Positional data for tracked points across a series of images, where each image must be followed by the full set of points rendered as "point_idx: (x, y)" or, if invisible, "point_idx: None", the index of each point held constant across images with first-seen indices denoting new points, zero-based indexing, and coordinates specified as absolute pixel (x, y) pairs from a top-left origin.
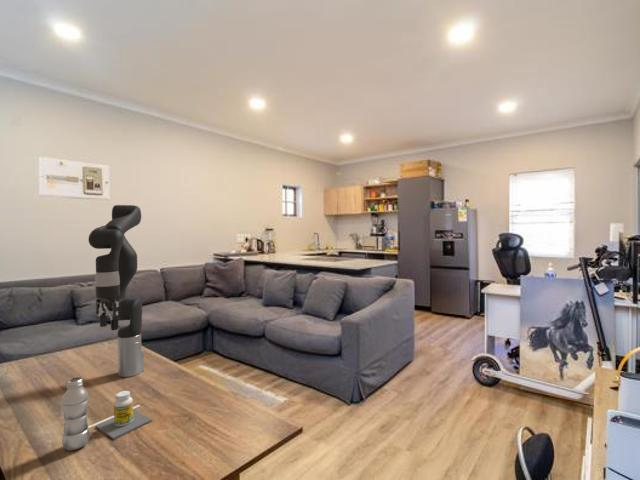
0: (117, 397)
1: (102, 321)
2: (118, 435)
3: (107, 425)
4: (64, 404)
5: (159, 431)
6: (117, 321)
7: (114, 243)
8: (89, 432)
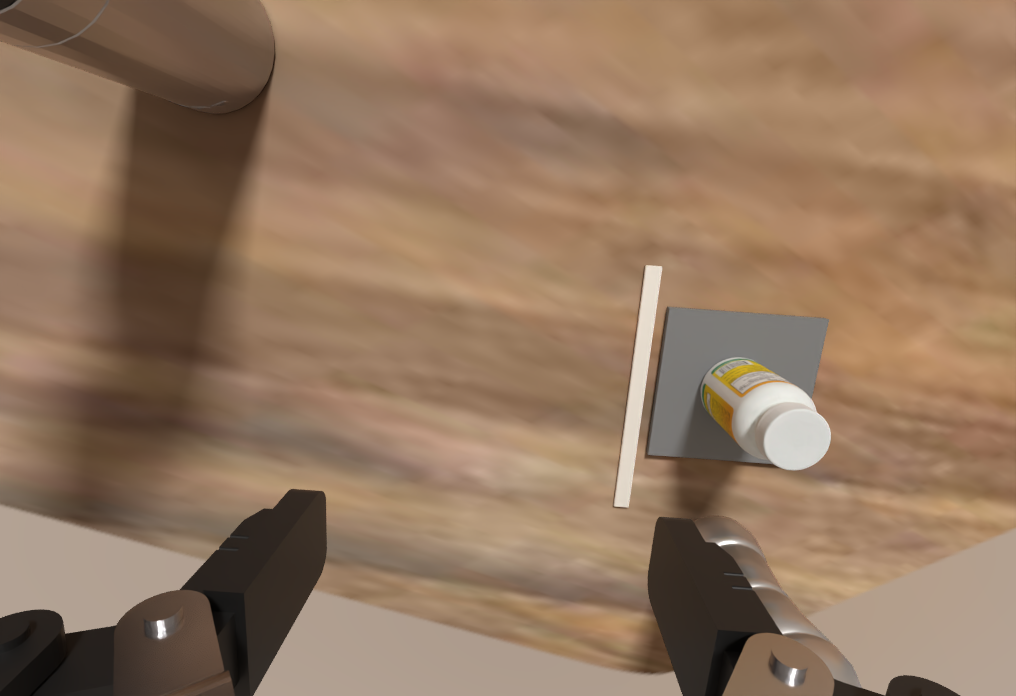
0: (794, 467)
1: (288, 599)
2: None
3: (691, 432)
4: None
5: (916, 348)
6: (774, 633)
7: None
8: (740, 528)
